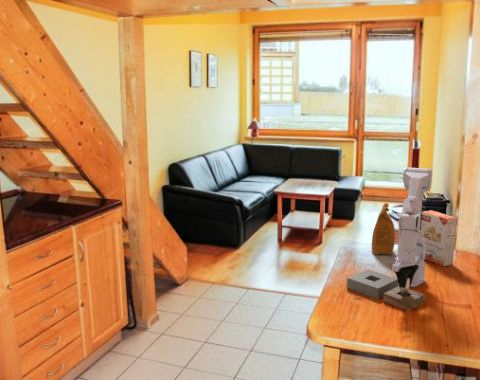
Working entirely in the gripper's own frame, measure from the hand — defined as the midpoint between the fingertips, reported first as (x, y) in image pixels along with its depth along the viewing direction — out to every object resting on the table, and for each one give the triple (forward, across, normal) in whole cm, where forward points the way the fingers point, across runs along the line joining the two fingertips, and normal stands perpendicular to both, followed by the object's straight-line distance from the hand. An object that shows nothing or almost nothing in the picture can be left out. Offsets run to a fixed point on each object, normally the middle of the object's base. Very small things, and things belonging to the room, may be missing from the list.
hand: (404, 285), depth 170 cm
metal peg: (+4, 0, 0) cm, 4 cm away
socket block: (+6, 0, 0) cm, 6 cm away
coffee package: (+6, -42, -35) cm, 55 cm away
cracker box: (+6, -48, -13) cm, 50 cm away
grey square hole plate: (+6, -2, -14) cm, 15 cm away
